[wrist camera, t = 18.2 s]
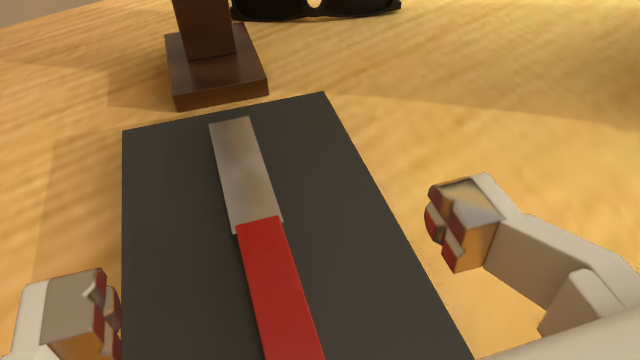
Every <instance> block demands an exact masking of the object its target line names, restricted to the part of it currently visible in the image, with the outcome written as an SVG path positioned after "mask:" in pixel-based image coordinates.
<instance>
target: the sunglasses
mask: <svg viewBox="0 0 640 360" xmlns="http://www.w3.org/2000/svg"><path fill="white" fill-rule="evenodd" d="M231 1H232V7H230V14H231V18H233V19H240V20H248V21H266V22H271V21H285V20H294V19H299V18H304V17H320V16H328V17H362V16H370V15H376V14H381V13H385V12H390V11H394V10H398V9H401V1H399V0H322V1H321V3H320V5H319V6H318V7H317V8H312V7H310V5H309V4H308V2H307V0H231Z"/></svg>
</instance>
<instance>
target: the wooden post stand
mask: <svg viewBox="0 0 640 360" xmlns="http://www.w3.org/2000/svg"><path fill="white" fill-rule="evenodd" d="M172 4H173V8H174V12H175V16H176V19H177V23H178V27H179V31H180V32H178V33H171V34H165V35H164V37H165V44H166V52H167V59H168V67H169V74H170V81H171V89H172V96H173V100H174V103H175V106H176V110H177V112H183V111H188V110H193V109H199V108H204V107H209V106H214V105H219V104H224V103H229V102H235V101H240V100H245V99H250V98H255V97H260V96H265V95H269V90H268V82H267V77H266V75H265V72H264V70H263V68H262V65H261V63H260V60H259V58H258V56H257V53H256V51H255V49H254V46H253V44H252V41H251V39H250V37H249V34H248V32H247V29H246V27H245V25H244V22H239V23H233V24H232V20H231V14H230V9H229V3H228V0H172Z"/></svg>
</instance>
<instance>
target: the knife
mask: <svg viewBox="0 0 640 360" xmlns="http://www.w3.org/2000/svg"><path fill="white" fill-rule="evenodd" d="M209 129H210V134H211V138H212V143H213V148H214V152H215V157H216V161H217V166H218V170H219V175H220V180H221V184H222V189H223V193H224V198H225V202H226V207H227V211H228V216H229V221H230V225H231V230H232V234H233V237H234V238H235V237H237V238H238V243H239V247H240V251H241V256H242V260H243V265H244V269H245V273H246V278H247V282H248V287H249V291H250V295H251V300H252V304H253V309H254V313H255V317H256V322H257V326H258V331H259V335H260V339H261V344H262V348H263V353H264V357H265V360H326V359H325V356H324V353H323V349H322V346H321V343H320V340H319V337H318V334H317V331H316V328H315V325H314V322H313V319H312V316H311V313H310V309H309V306H308V303H307V300H306V297H305V294H304V291H303V288H302V285H301V282H300V279H299V276H298V273H297V269H296V266H295V263H294V260H293V257H292V254H291V251H290V248H289V245H288V242H287V239H286V236H285V233H284V229H283V226H282V225H284V221H283V218H282V215H281V212H280V209H279V206H278V203H277V200H276V197H275V194H274V191H273V188H272V185H271V182H270V179H269V176H268V173H267V170H266V167H265V164H264V161H263V158H262V155H261V152H260V149H259V145H258V142H257V139H256V136H255V133H254V130H253V127H252V124H251V121H250V118H249V116H246V117H241V118H236V119H231V120H226V121H221V122H216V123H211V124H209Z"/></svg>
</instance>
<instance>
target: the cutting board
mask: <svg viewBox="0 0 640 360" xmlns="http://www.w3.org/2000/svg"><path fill="white" fill-rule="evenodd" d="M246 116H249V118H250V121H251V124H252V127H253V130H254V133H255V136H256V139H257V142H258V145H259V149H260V152H261V155H262V158H263V161H264V164H265V167H266V170H267V173H268V176H269V179H270V182H271V185H272V188H273V191H274V194H275V197H276V200H277V203H278V206H279V209H280V212H281V215H282V218H283V221H284V225H282V226H283V229H284V233H285V236H286V239H287V242H288V245H289V248H290V251H291V254H292V257H293V260H294V263H295V266H296V269H297V273H298V276H299V279H300V282H301V285H302V288H303V291H304V294H305V297H306V300H307V303H308V306H309V309H310V313H311V316H312V319H313V322H314V325H315V328H316V331H317V334H318V337H319V340H320V343H321V346H322V349H323V353H324V356H325V359H326V360H475V359H474V357H473V355H472V353H471V352H470V350H469V348H468V346H467V345H466V343H465V341H464V339H463V337H462V336H461V334H460V332H459V330H458V329H457V327H456V325H455V323H454V322H453V320H452V318H451V316H450V314H449V313H448V311H447V309H446V307H445V306H444V304H443V302H442V300H441V298H440V297H439V295H438V293H437V291H436V290H435V288H434V286H433V284H432V283H431V281H430V279H429V277H428V275H427V274H426V272H425V270H424V268H423V267H422V265H421V263H420V261H419V259H418V258H417V256H416V254H415V252H414V251H413V249H412V247H411V245H410V243H409V242H408V240H407V238H406V236H405V235H404V233H403V231H402V229H401V228H400V226H399V224H398V222H397V220H396V219H395V217H394V215H393V213H392V212H391V210H390V208H389V206H388V204H387V203H386V201H385V199H384V197H383V196H382V194H381V192H380V190H379V189H378V187H377V185H376V183H375V181H374V180H373V178H372V176H371V174H370V173H369V171H368V169H367V167H366V165H365V164H364V162H363V160H362V158H361V157H360V155H359V153H358V151H357V149H356V148H355V146H354V144H353V142H352V141H351V139H350V137H349V135H348V134H347V132H346V130H345V128H344V126H343V125H342V123H341V121H340V119H339V118H338V116H337V114H336V112H335V110H334V109H333V107H332V105H331V103H330V102H329V100H328V98H327V96H326V95H325V93H324V91H321V92H316V93H311V94H306V95H301V96H296V97H291V98H285V99H280V100H275V101H270V102H265V103H260V104H255V105H250V106H245V107H240V108H235V109H230V110H225V111H220V112H214V113H209V114H204V115H199V116H194V117H189V118H184V119H179V120H174V121H169V122H164V123H159V124H154V125H149V126H143V127H138V128H133V129H128V130H123V131H122V281H121V310H122V326H121V342H122V360H265V357H264V353H263V348H262V344H261V339H260V335H259V331H258V326H257V322H256V317H255V313H254V309H253V304H252V300H251V295H250V291H249V287H248V282H247V278H246V273H245V269H244V265H243V260H242V256H241V251H240V247H239V243H238V238H237V237H235V238H234V237H233V234H232V230H231V225H230V221H229V216H228V211H227V207H226V202H225V198H224V193H223V189H222V184H221V180H220V175H219V170H218V166H217V161H216V157H215V152H214V148H213V143H212V138H211V134H210V129H209V124H211V123H216V122H221V121H226V120H231V119H236V118H241V117H246Z"/></svg>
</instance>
